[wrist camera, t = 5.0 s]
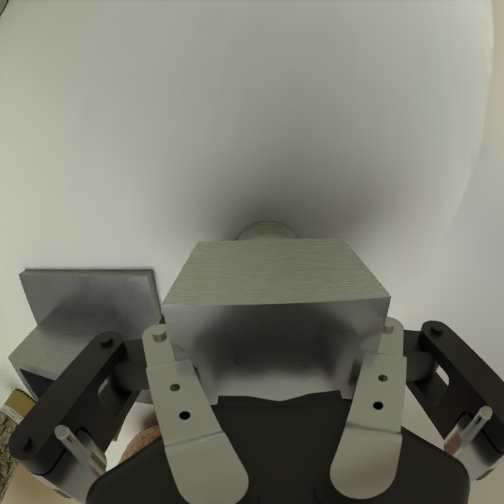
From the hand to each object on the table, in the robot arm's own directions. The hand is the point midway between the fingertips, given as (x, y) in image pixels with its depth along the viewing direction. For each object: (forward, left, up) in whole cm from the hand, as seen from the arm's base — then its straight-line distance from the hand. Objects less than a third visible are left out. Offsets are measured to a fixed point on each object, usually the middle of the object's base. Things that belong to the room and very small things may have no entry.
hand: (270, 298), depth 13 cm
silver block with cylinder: (+2, 0, -6) cm, 6 cm away
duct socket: (+8, -15, -6) cm, 18 cm away
